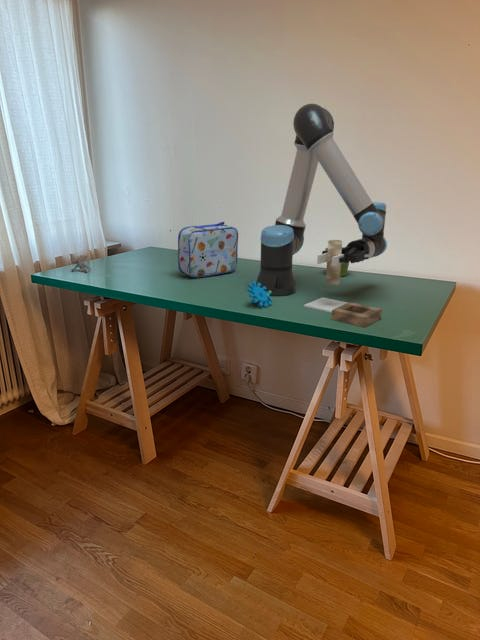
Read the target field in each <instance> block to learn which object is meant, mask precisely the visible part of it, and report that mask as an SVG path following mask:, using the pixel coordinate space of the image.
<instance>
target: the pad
mask: <svg viewBox="0 0 480 640" xmlns="http://www.w3.org/2000/svg"><path fill="white" fill-rule="evenodd" d="M346 303H348V302H346V301H342V300H337V299H332V298H328V297H323V296H322V297H320V298H317V299H315V300H313V301H309V302H307V303H305V304H304V305H303V307H304V308H309V309H312V310H317V311H321V312H325V313H330V314H332V310H333V309H335V308H338V307H340V306H342V305H344V304H346Z"/></svg>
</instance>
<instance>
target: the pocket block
mask: <svg viewBox="0 0 480 640" xmlns="http://www.w3.org/2000/svg"><path fill="white" fill-rule="evenodd" d="M382 312H383V309H382V308H379V307H374V306H371V305H365V304H361V303H360V304H359V303H355V302H351V301H349V302H347V303H346V304H344V305H342V306H340V307H338V308H335V309H333V310H332V313H331V318H330V319H331V320H333V321H337V322H340V323H345V324H350V325H353V326H356V327H357V326H358V327H362V328H367V327H369V326H370V325H372V324H374V323H375V322H377V321H379V320H381V319H382V315H383V314H382Z"/></svg>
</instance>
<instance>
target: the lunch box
mask: <svg viewBox="0 0 480 640" xmlns="http://www.w3.org/2000/svg"><path fill="white" fill-rule="evenodd" d="M177 235H178V236H177V237H178V238H177V264H178V267H177V268H178V270H179V271H180V273H182V274H185V275H188V276H190V277H192V278H203V277H211V276H217V275H221V274H227V273H232V272H234V271H235V270H236V268H237V266H238V265H237V264H238V258H239V257H238V256H239V255H238V251H239V250H238V249H239V248H238V247H239V232H238V229H237V228H236V227H234V226H230V225H227V224H225V221H221V222H218V223H215V224H205V225H193V226H192V225H191V226H186V227H183V228H182V229H180V231H179V232H178V234H177Z"/></svg>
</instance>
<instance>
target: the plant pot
mask: <svg viewBox="0 0 480 640" xmlns="http://www.w3.org/2000/svg"><path fill="white" fill-rule="evenodd" d="M344 247H345V246H344ZM344 247H343V246H342V248H344ZM325 250H328V247H326V248H324V251H325ZM349 265H350V261H349V262H348V263H345V262H344V263H342V264H341V268H340V278H341V277H342V276H344V277H345V276H346V275H347V273H348V270H349V269H348V268H349Z"/></svg>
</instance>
